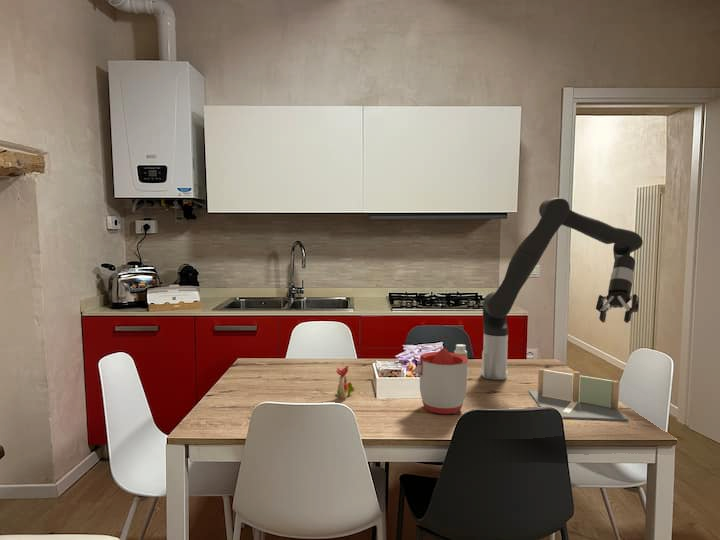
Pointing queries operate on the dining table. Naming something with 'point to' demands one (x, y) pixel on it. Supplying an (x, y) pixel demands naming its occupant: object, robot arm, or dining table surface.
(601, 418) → the board
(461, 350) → the supplement bottle
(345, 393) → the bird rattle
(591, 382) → the fence hinged section
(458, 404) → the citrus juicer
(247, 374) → the dining table surface
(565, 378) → the panel
